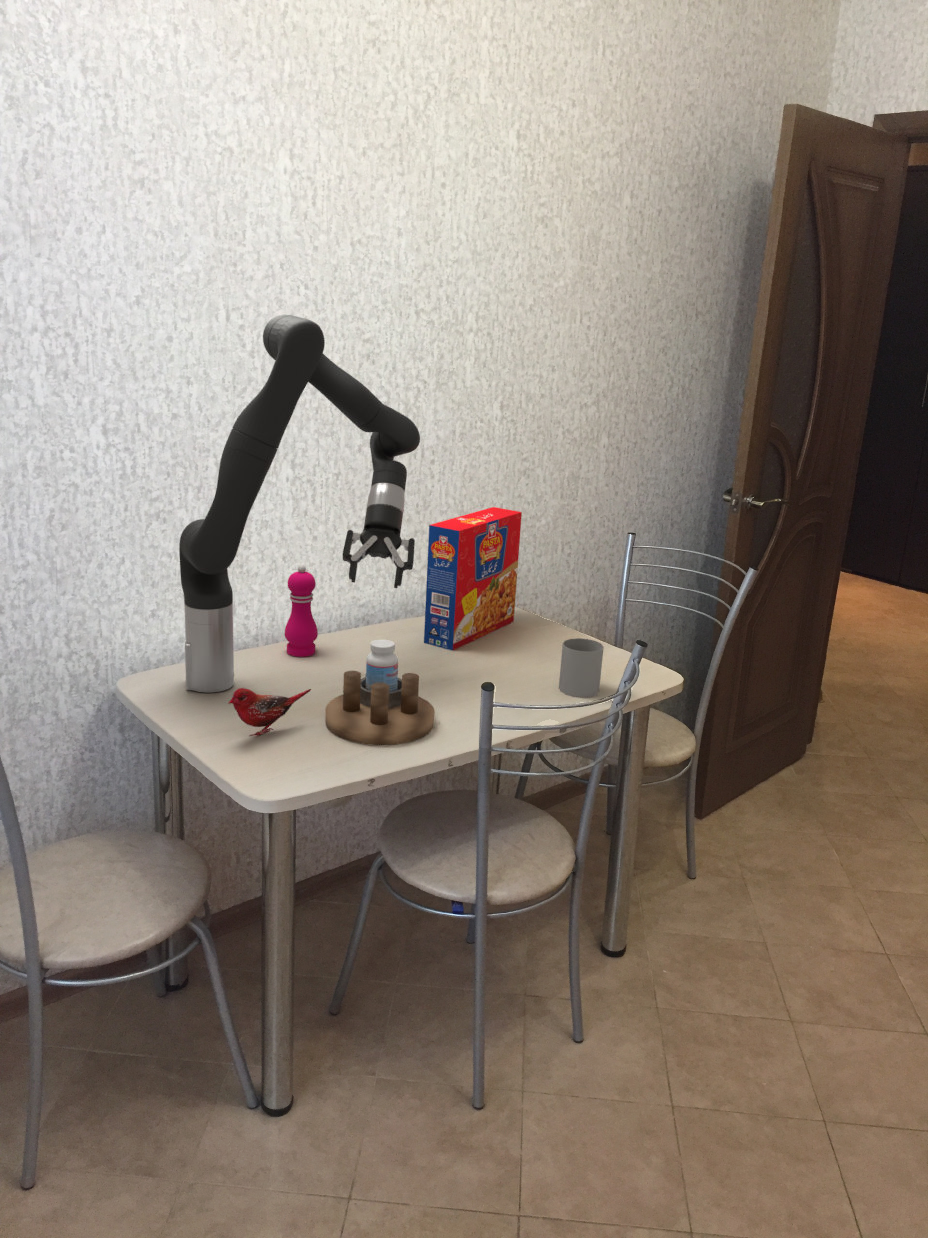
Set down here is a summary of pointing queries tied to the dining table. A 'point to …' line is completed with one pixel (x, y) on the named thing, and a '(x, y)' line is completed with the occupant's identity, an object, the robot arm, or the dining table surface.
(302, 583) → the pepper mill
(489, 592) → the pasta box
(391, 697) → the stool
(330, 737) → the dining table surface
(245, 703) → the decorative bird figurine
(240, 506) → the robot arm
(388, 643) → the pill bottle
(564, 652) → the cup
